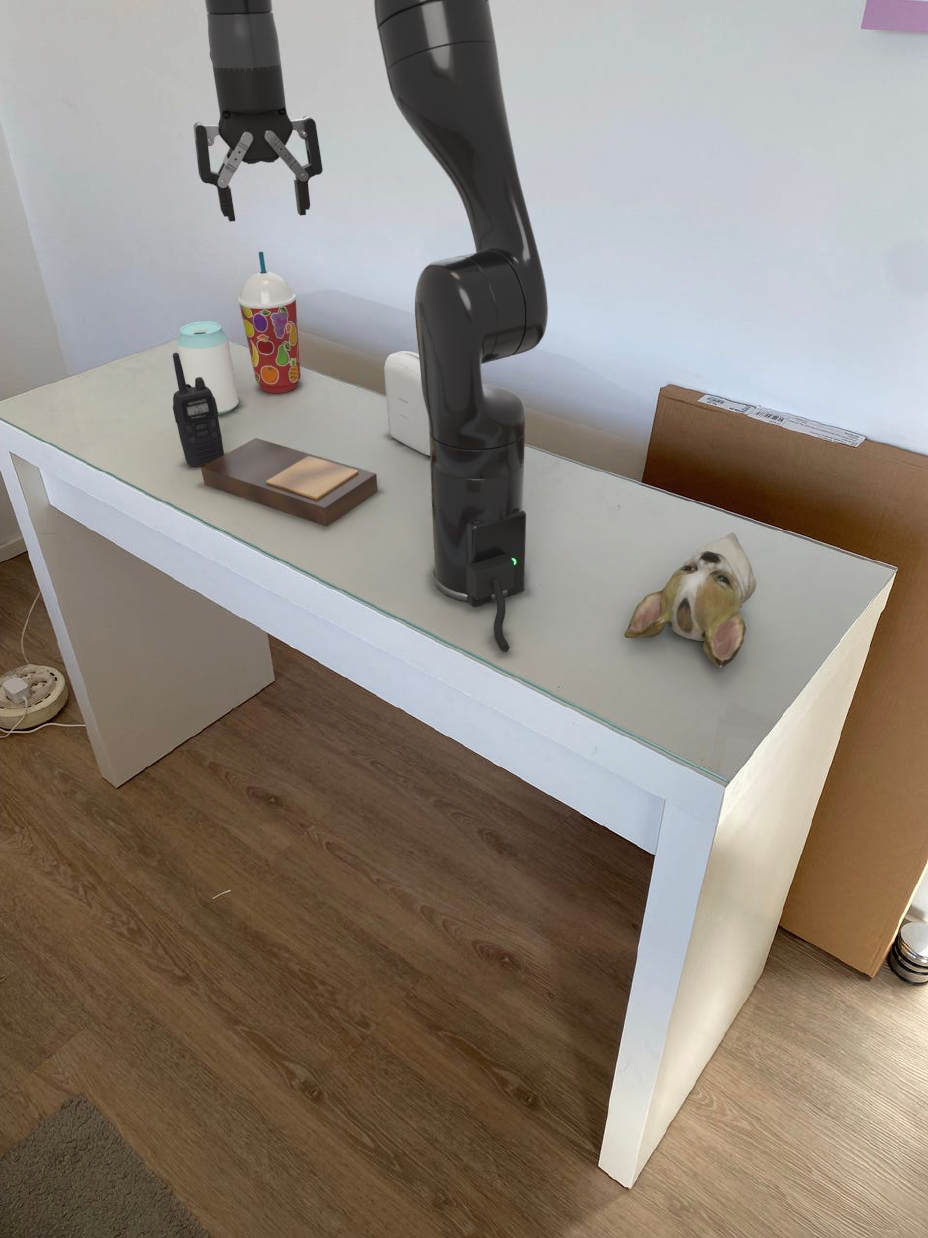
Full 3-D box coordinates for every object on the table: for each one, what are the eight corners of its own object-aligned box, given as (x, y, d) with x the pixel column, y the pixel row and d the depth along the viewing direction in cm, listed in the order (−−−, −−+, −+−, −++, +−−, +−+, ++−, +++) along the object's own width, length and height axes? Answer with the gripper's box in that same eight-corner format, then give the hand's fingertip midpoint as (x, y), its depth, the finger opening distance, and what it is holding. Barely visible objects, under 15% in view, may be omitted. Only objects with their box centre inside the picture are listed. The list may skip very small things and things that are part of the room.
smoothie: (289, 372, 146) (271, 241, 134) (316, 387, 141) (301, 252, 129) (242, 385, 142) (220, 251, 130) (269, 401, 136) (249, 263, 125)
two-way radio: (189, 470, 119) (164, 358, 110) (179, 457, 122) (154, 347, 113) (229, 460, 121) (209, 349, 112) (219, 448, 124) (198, 339, 115)
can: (248, 406, 135) (235, 326, 128) (208, 421, 131) (192, 339, 124) (221, 394, 139) (207, 315, 132) (181, 408, 135) (164, 328, 128)
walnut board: (377, 491, 113) (376, 471, 112) (327, 526, 107) (324, 505, 105) (258, 454, 122) (255, 435, 120) (204, 485, 115) (200, 465, 114)
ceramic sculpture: (789, 532, 87) (736, 619, 77) (775, 603, 92) (724, 693, 83) (684, 505, 92) (621, 584, 82) (676, 574, 97) (616, 656, 88)
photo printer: (384, 435, 126) (377, 348, 119) (409, 427, 129) (404, 340, 121) (429, 461, 120) (425, 370, 113) (454, 451, 122) (452, 362, 115)
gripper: (183, 67, 96) (211, 229, 106) (316, 61, 100) (331, 218, 109) (178, 61, 102) (204, 215, 112) (303, 55, 106) (318, 205, 115)
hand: (267, 216), depth 111 cm, fingers open, 8 cm apart
